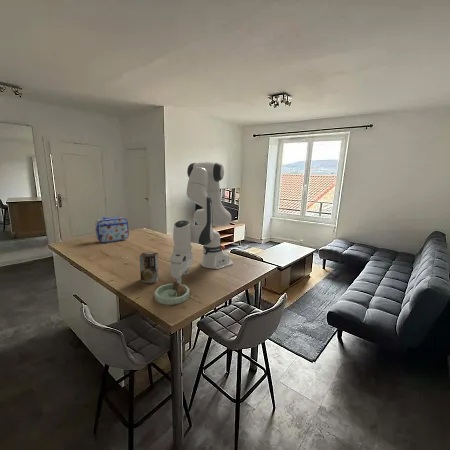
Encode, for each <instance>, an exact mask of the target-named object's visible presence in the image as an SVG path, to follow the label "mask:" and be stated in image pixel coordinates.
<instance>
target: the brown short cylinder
mask: <svg viewBox="0 0 450 450" xmlns="http://www.w3.org/2000/svg"><path fill="white" fill-rule="evenodd" d="M185 285H186V284H183V285H178V286H177V297H180V296H182V295H184V294H185Z"/></svg>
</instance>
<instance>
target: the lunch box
mask: <svg viewBox="0 0 450 450" xmlns="http://www.w3.org/2000/svg"><path fill="white" fill-rule="evenodd" d="M94 222H95V224H94V225H95V226H94V227H95V229H94V231H95V236H96V239H97V240H98V242H100V243H102V244H107V243H113V242H114V241H115V242H118V241H119V242H120V241H123V240H126V239H128V238H129V236H130V235H129V234H130V233H129V222H128V220H127V218H124V217H106V216H103V217H102V218H99V219H96V220H95V221H94Z"/></svg>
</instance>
